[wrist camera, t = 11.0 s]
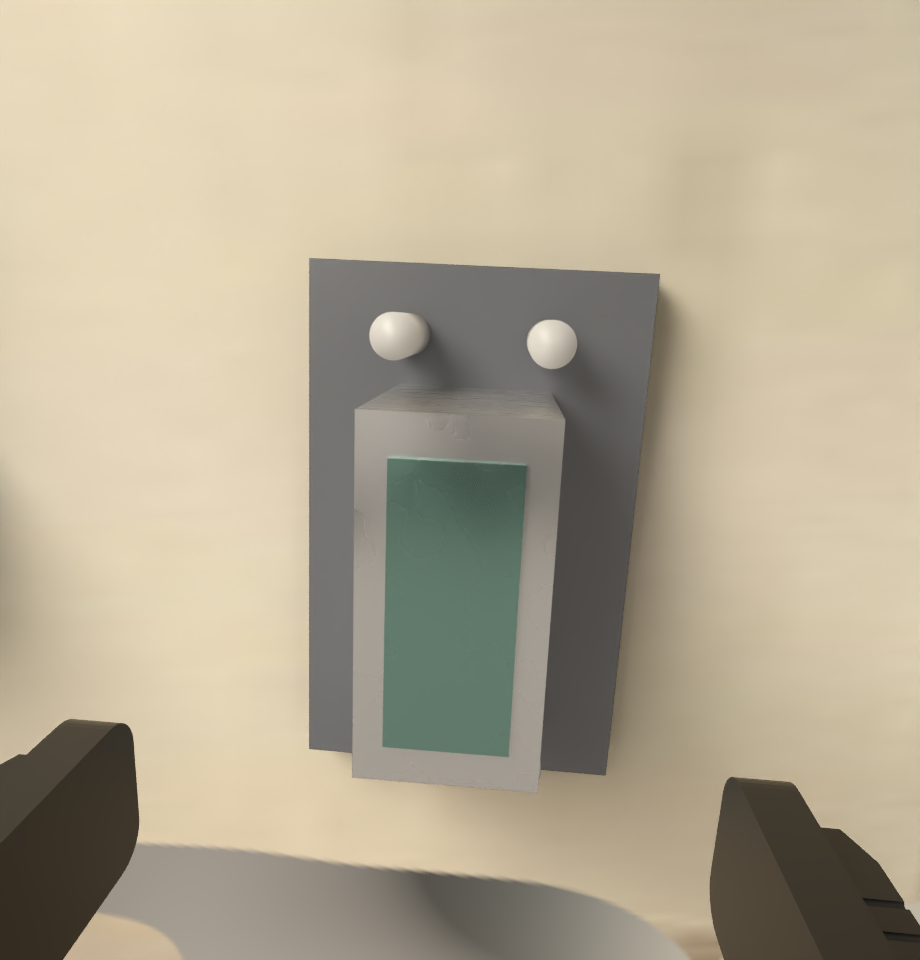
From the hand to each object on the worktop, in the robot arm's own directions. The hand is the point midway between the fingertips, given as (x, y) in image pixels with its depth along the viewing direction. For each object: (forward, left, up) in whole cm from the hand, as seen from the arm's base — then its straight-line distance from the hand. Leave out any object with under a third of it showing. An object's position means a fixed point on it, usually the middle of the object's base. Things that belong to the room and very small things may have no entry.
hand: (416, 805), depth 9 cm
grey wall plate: (0, 0, -14) cm, 14 cm away
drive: (0, 0, -13) cm, 13 cm away
